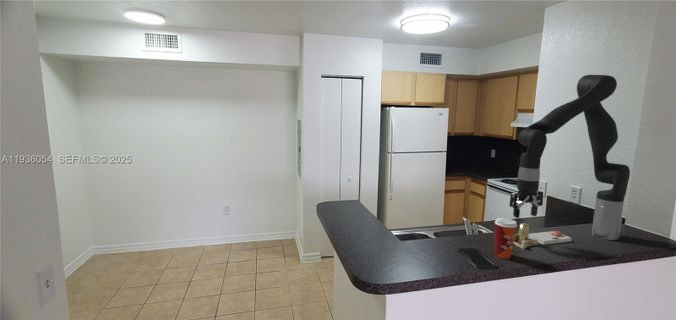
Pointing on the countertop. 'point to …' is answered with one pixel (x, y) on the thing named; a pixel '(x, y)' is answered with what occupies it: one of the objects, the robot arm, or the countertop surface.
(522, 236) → the cell
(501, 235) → the paper cup
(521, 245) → the beige channel block
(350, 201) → the countertop surface
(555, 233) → the button
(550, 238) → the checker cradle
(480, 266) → the phone
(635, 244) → the countertop surface
